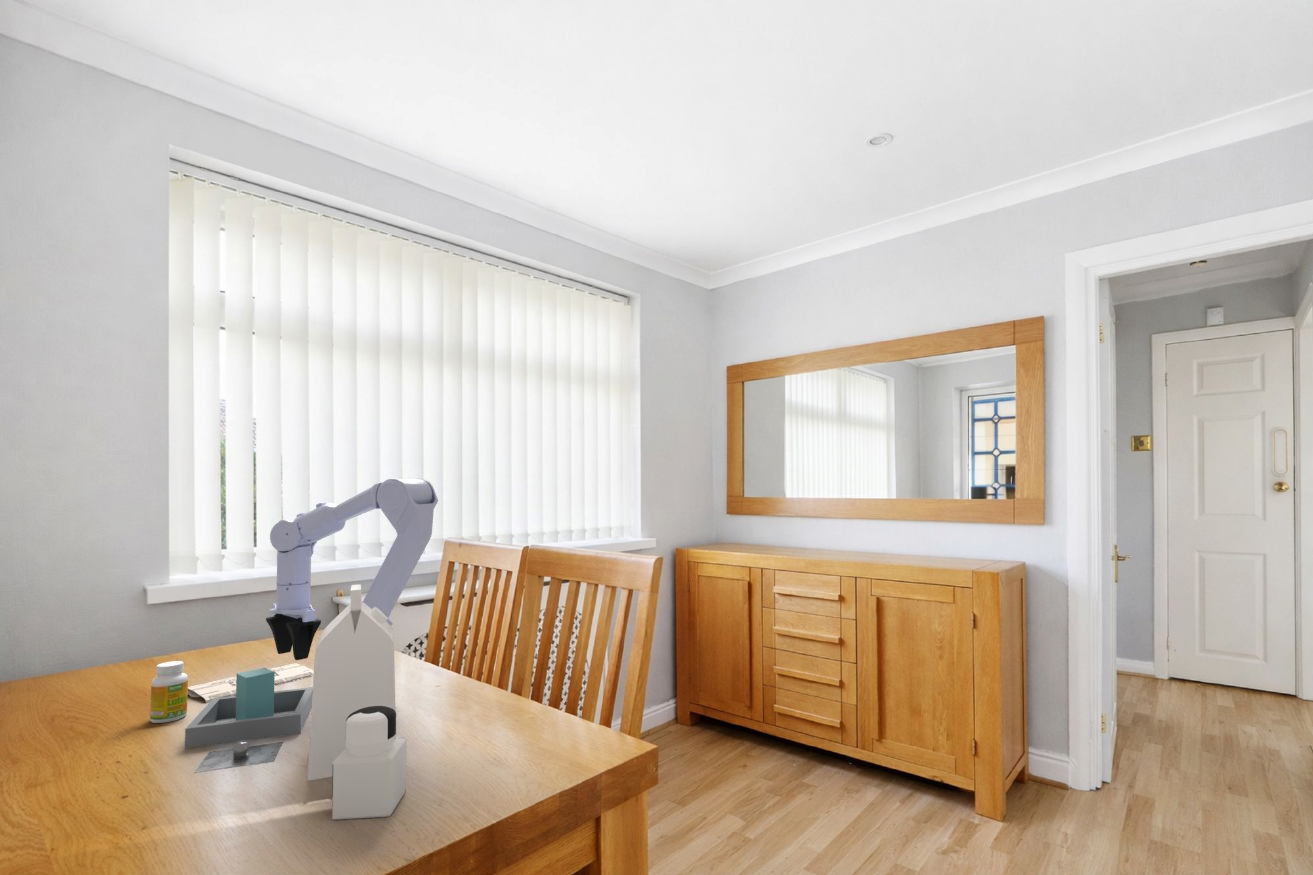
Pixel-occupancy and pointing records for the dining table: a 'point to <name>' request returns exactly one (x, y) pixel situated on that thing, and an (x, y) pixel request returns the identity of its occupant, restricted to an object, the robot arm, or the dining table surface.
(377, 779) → the medicine bottle
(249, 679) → the strut
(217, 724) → the bin
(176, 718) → the supplement bottle
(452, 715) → the dining table surface
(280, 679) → the newspaper
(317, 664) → the milk
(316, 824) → the dining table surface
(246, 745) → the stud plate
